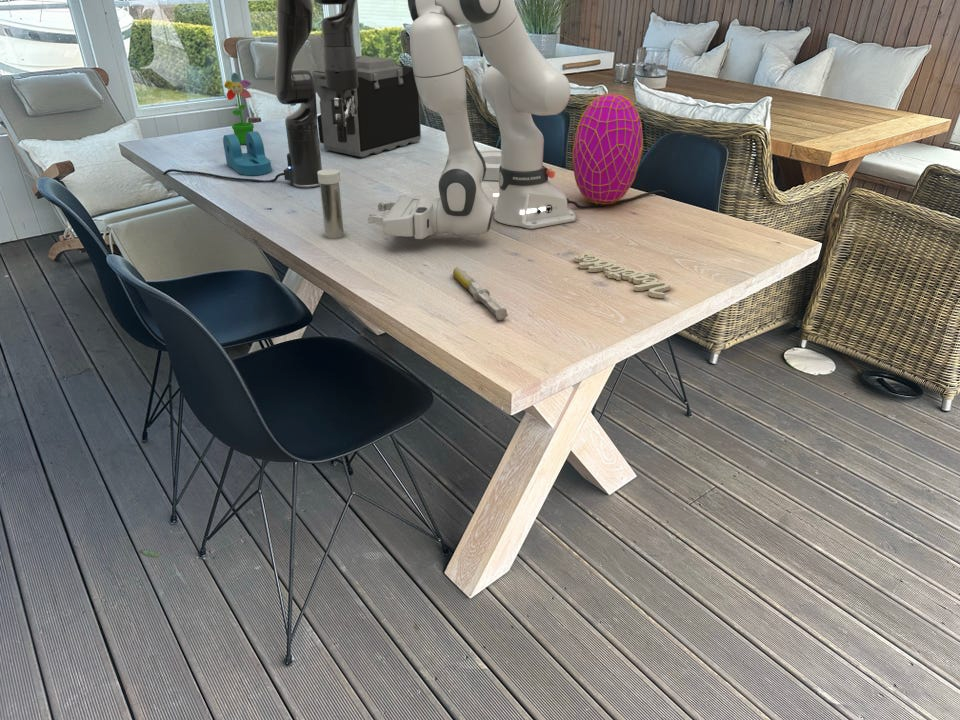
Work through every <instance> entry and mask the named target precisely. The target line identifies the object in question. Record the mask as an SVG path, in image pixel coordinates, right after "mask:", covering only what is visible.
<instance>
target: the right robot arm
mask: <svg viewBox="0 0 960 720" xmlns="http://www.w3.org/2000/svg"><path fill="white" fill-rule="evenodd" d="M407 7H408V11H409V14H410V17H411V20H412V23H411V25H410V28H409V50H410V59H411V60H410V61H411V67H413V73H414V77H415V82H416V86H417V90H418V93H419V95H420V101H421V102H422V104H423V106H425V108H427V109H428V110H430V111H432V112H435V113H437V114H438V115H439V116H440V117H441V121H442V125H443V128H444V133H445V138H446V142H447V146H448V155H447V160H446V163H445V165H444V168H443V170H442V171H441V174H440V176H439V179H438V192H439V197H431V196H419V195H417V196H416V195H407V194H406V195H405V194H404V195H400V196H399V197H398V198H397V200H392V201H387V202H379V203H378V204H377V210H378V211H379V212H386V211H388V212H387V213H386V214H385V215H381V216H379V215H377V214H369V215H368V216H367V223H368V224H373V225H377V226H379V227H382V233H384V234H385V235H388V236H395V237H406V238H409V237H414V239H415V240H424V239H426V238H427V237H429V236H432V235H433V236H434V235H443V234H450V235H451V234H452V235H454V236H467V237H469V236H471V237H472V236H481V235H485V234H487V233H488V232H489V231H490V228H491V226H492V222H493V219H494V220H495V221H496V222H498V223H500V224H503V225H508V226H513V227H519V228H524V229H529V230H534V229H539V228H544V227H550V226H555V225H561V224H566V223H571V222H575V221H576V214H575V212H574V211H573V210H572V209H571V208H570V207H569V204H570V205H571V204H572V205H574V206H575V207H576V208H578V209H593V208H597V207H602V206H608V205H610V204H596V203H595V204H590V205H580V204H578V203H577V202H576V201H573V200H570V198H568V197H567V196H566V194H565V193H564V191H562V190H561V189H560V188H559V187H558V186H556V185H555V184H554V183H553V182H552V181H550V180H549V178H550V179H553V178H555V176H556V171H555V170H553V169H552V168H548V167H546V166H544V165H543V164H544V145H545V139H544V138H545V137H544V135H543V133H542V132H541V130H540V129H539V128H538V127H537V125H536V123H535V122H534V120H533V116H532V115H534V116H538V117H539V116H541V117H544V116H545V117H546V116H557V115H559V114H561V113H562V112H563V111H564V110H565V109H566V108H567V106H568V104H569V101H570V99H571V85H570V81H569V78H568V77H567V76H566V75H565V74H564V73H562V72H561V71H559V70H557V69H556V68H555V67H554V66H553V65H552V64H551V63H550V62H549V61H548V60H547V59H546V58H545V56H543V54H542V53H541V52H540V50H539V49H538V48H537V47H536V45H535V44H534V43H533V42H532V40H531V38H530V36H529V34H528V32H527V29H526V28H525V25H524V23H523V20H522V18H521V16H520V13H519V11H518V8H517V6H516V4H515V2H514V0H407ZM462 25H469V26H470V28H471V30H472V32H473V35H474V37H475V39H476V41H477V43H478V46H479V47H480V49H481V51H482V53H483V56H484V58H485V60H486V61H487V63H488V65H490V66H489V67H488V68H487V69H486V70H485V71H484V73H483V76H482V80H481V92H482V95H483V97H484V99H485V100H486V101H487V103H488V104H489V105H490V107H491V109H492V111H493V113H494V115H495V118H496V121H497V125H498V128H499V129H498V130H499V134H500V150H501V165H500V166H499V179H498V180H499V181H498V188H499V189H498V193H493V194H492V196H493V197H498V198H497V203H496V208H495V207H494V204H493V202H491V200H489V198H488V196H487V194H486V192H485V191H484V189H483V186H482V182H483V181H484V180H483V178H484V176H485V173H486V164H485V161H484V159H483V157H482V155H481V153H480V152H479V151H480V150H479V149H478V146H477V145H476V142H475V139H474V135H473V130H472V125H471V122H470V116H469V111H468V105H467V104H468V102H467V80H466V79H467V78H466V77H467V76H466V71H465V69H466V68H465V63H464V59H463V53H462V49H461V46H460V41H459V30H460V26H462ZM659 193H662V194H663V195H665V196H668V195H669V194H668V193H667V192H666V191H665V190H662V189H657V190H653V191H649V192H645V193H641V194H638V195H636V196H632V197H628V198H624V199H620V200H618V201H617V202H615V203H612V204H611V205H615V204H620V203H622V204H623V203H626V202H630V201H634V200H636V199H639V198H641V197H645V196H650V195H654V194H659Z"/></svg>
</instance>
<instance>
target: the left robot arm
mask: <svg viewBox="0 0 960 720" xmlns="http://www.w3.org/2000/svg"><path fill="white" fill-rule="evenodd" d="M313 1H314V3H317V4H319V5H323V6H328V5H330V6H331V5H333V6H334V5H336V6H337V5H341V8H340V10H339V12H338V13H336V14H333V15H330V16H327V17H324V18H322V20H321V23H320V24H321V25H320V26H321V36H322V37H321V38H322V47H323V49H322V50H323V51H322V53H323V54H322V55H323V65H324V66H323V68H324V72H325V78H326V87H327V88H328V89H330V90H334V91H335V98H331V105H332V117H333V125H335V126H337V135H338V142H341V143H346V142H347V141H348V137H347V134H348V135H354V134H355V133H356V131H355V119H354V118H355V117H356V115H355V114H357V110H356V99H355V90H354V89H357V88H358V73H357V60H356V56H357V54H356V48H355V36H354V15H355V9H356V8H355V7H356V2H357V0H313ZM313 1H312V0H276V26H277V29H276V30H277V31H276V32H277V35H276V38H277V41H276V42H277V46H276V47H277V48H276V60H275V70H274V71H275V72H274V91H275V95H276V98H277V101H278V102H279V103H280V104H282V105H287V106H288V105H300V106H299V108H298V109H297V110H296V111H294V112H293V113H291V114H289V115H287V116H286V117H285V120H284V123H285V131H286V138H287V146H288V153H287V154H286V161H287V168H284V169H283V172H281V173H278V174H276V175H275V176H274V178H273V179H269V180H267V179H266V180H262V179H255V178H243V177H242V178H241V177H232V176H226V175H220V174H215V173H208V172H202V171H194V170H182V169H176V168H170V169H167V170H164V172H163V173H162V175H163V176H165V175H167V174H168V173H172V172H174V173H175V172H176V173H180V174H181V173H182V174H191V175H192V174H193V175H201V176H208V177H213V178H218V179H224V180H231V181H239V182H252V183H274V182H276V181H277V180H278V179H279V178H280V177H282V176H283V177H284V181H289V184H290V186H294V187H296V188H300V189H301V188H303V189H310V188H317V187H320V183H319V182H318V174H317V172H318V171H320V170H324V169H323V167H322V157H321V147H320V139H319V130H318V120H317V117H318V109H317V108H318V107H317V93H316V89H315V81H314V78H313V75H312V73H311V72H312V71H311V70H309V69H307V68H299V69H293V66H294V62H295V60H296V57H297V55H298V54H299V52H300V51H301V49H302V48H303V46H304V45H305V43H306V42H307V40H308V39H309V37H310V34H311V32H312V30H313V19H314V18H313V15H314V5H313ZM340 117H341V119H339V118H340Z"/></svg>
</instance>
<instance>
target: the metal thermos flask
mask: <svg viewBox="0 0 960 720" xmlns="http://www.w3.org/2000/svg"><path fill="white" fill-rule="evenodd" d="M319 189H320V198H321V207H322V215H323V216H322V217H323V225H324V234H325V235H324V236H325V237H326V239H332V240H333V239H335V240H336V239H340V238H342V237H345V231H344V220H343V208H342V199H341V188H340V182H338V183H335V184H321V183H320V186H319Z"/></svg>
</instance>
